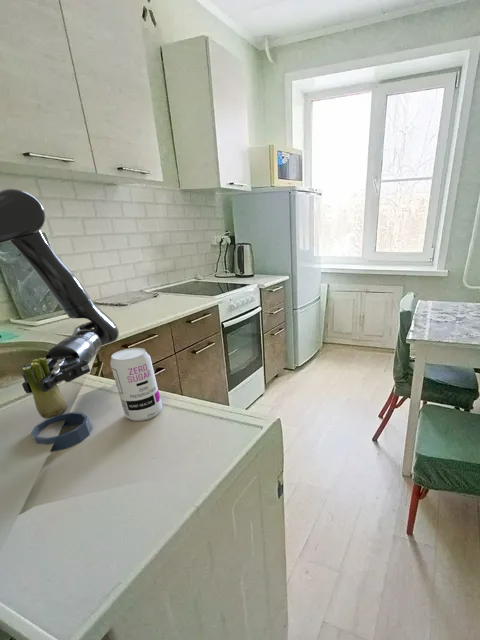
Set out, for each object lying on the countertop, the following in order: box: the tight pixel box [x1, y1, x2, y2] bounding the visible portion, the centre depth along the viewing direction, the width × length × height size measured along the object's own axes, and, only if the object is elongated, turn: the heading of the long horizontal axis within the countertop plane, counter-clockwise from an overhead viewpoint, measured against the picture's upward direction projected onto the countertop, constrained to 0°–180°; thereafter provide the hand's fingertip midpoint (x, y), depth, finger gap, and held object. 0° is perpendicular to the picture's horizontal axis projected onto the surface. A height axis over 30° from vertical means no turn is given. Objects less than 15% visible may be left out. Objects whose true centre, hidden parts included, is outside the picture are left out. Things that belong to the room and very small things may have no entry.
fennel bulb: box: [21, 357, 68, 420], centre depth 70 cm, size 6×5×12 cm
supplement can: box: [109, 347, 163, 422], centre depth 79 cm, size 8×8×15 cm
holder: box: [30, 411, 93, 453], centre depth 75 cm, size 10×10×3 cm
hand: (34, 388), depth 67 cm, fingers closed on fennel bulb, 2 cm apart
